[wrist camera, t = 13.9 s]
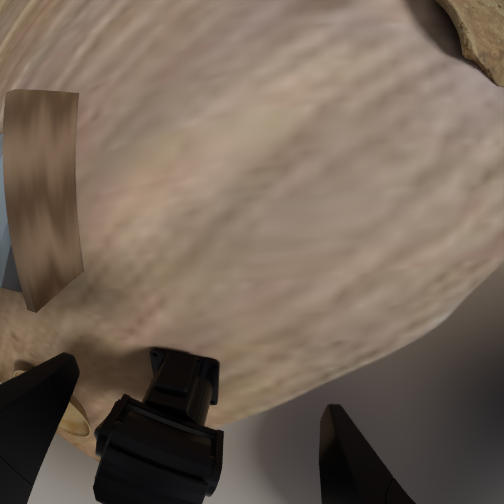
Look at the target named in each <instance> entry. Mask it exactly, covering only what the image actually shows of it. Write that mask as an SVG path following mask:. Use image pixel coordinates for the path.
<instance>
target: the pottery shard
mask: <svg viewBox="0 0 504 504" xmlns="http://www.w3.org/2000/svg"><path fill="white" fill-rule="evenodd" d="M435 1H436V2H437V3H438V4H439V5H440V6H441V7H442V8H443V9H444V10H445V11H446V12H447V13H448V15H449V16H450V18H451V20H452V22H453V24H454V25H455V27H456V30H457V33H458V35H459V38H460V43H461V49H462V55H463V56H464V57H465V58H466V59H469V60H472V61H474V62H475V63H476V64H477V65H478V66H480V67H481V69H482V70H483V71H484V72H485V73H486V74H487V76H488V77H489V78H490V79H492V81H493V82H494V83H495V84H496V85H498V86H502V87H504V0H435Z"/></svg>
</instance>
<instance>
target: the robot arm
mask: <svg viewBox="0 0 504 504" xmlns="http://www.w3.org/2000/svg"><path fill="white" fill-rule="evenodd" d="M155 353H156V354H155ZM150 357H151V363H152V369H153V375H154V377H153V379H152V381H151V383H150V385H149V388H148V390H147V392H146V394H145V396H144V399H143V401H142V402H140V401H137V400H135V399H133V398H131V396H129V395H127V394H124V395H123V397H122V398H121V400H120V399H119V400H118V401H116V402H115V404H114V406H113V408H112V410H111V412H110V413H109V415H108V416H107V417H106V418H105V419H104V421H103V422H102V423H101V424H100V425H99V426H98V427H97V428H96V429H95V432H94V435H95V437H96V440H97V442H96V455H97V456H99V457H101V460H100V463H99V466H98V469H97V473H96V476H95V482H94V485H93V490H94V494H95V498H96V501H98V502H100V503H102V504H202V503H203V500H204V497H205V496H208V497H210V496H211V495H212V494H213V492H214V491H215V489H216V487H217V484H218V481H219V478H220V474H221V470H222V459H223V438H224V431H221V430H215V429H211V428H208V427H205V426H204V425H205V421H206V417H207V413H208V409H209V405H216V404H217V402H218V389H219V368H220V363H219V362H218V361H217V360H214V359H208V358H203V357H197V356H192V355H186V354H181V353H176V352H171V351H167V350H162V349H157V348H153V349H152V350H151V352H150ZM212 364H214V365H212ZM79 373H80V371H79V368H78V365H77V362H76V359H75V357H74V356H73V355H72V354H69V353H66V352H64V353H61V354H59V355H57V356H55V357H53V358H51V359H50V360H48V361H46V362H44V363H42V364H40V365H38V366H36V367H34V368H32V369H30V370H28V371H26V372H24V373H22V374H20V375H18V376H16V377H14V378H12V379H10V380H8V381H6V382H4V383H2V384H0V504H27V502H28V499H29V496H30V493H31V491H32V488H33V485H34V482H35V480H36V477H37V475H38V472H39V470H40V467H41V465H42V462H43V460H44V457H45V455H46V453H47V450H48V448H49V446H50V443H51V441H52V439H53V437H54V435H55V432H56V430H57V428H58V426H59V424H60V422H61V420H62V418H63V415H64V413H65V411H66V409H67V407H68V404H69V402H70V399H71V396H72V393H73V391H74V388H75V385H76V383H77V380H78V378H79ZM319 445H320V446H319V470H320V484H321V499H322V504H416V503H415V502H414V501H413V500H412V499H411V498H410V497H409V496H408V494H407V493H406V492H405V491H404V489H403V488H402V487H401V486H400V484H399V483H398V482H397V480H396V479H395V478H393V475H392V474H391V473H390V471H389V470H388V469H387V467H386V466H385V464H384V463H383V462H382V460H381V459H380V458H379V456H378V455H377V454H376V452H375V451H374V450H373V448H372V447H371V446H370V444H369V443H368V441H367V440H366V439H365V437H364V436H363V435H362V433H361V432H360V430H359V429H358V428H357V426H356V425H355V424H354V422H353V421H352V420H351V418H350V417H349V415H348V414H347V413H346V411H345V410H344V408H343V407H342V406H341V405H340V404H328V405H327V407H326V409H325V411H324V413H323V415H322V417H321V421H320V444H319Z"/></svg>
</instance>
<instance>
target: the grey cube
mask: <svg viewBox="0 0 504 504" xmlns="http://www.w3.org/2000/svg"><path fill="white" fill-rule="evenodd" d="M2 155H3V136H2V135H1V134H0V159H1V157H2Z"/></svg>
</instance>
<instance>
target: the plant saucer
mask: <svg viewBox="0 0 504 504" xmlns="http://www.w3.org/2000/svg"><path fill="white" fill-rule="evenodd" d="M26 371H28V370H17V371H15V372H14V374H13V378H14V377H16V376H18V375H20V374H22V373H24V372H26ZM58 429H60V430H62V431H63V432H65V433H68V434H70V435H73V436H76V437H80V438H87V437H89V436H90V435H91V428H90V424H89V420H88V418H87V415H86V413H85V411H84V409H83V407H82V405H81V404H80V403H79V401H78V400H77V399H76V398H75V397H74V396H73V395H72V396H71V399H70V402H69V404H68V407H67V409H66V411H65V413H64V415H63V418H62V420H61V422H60V424H59V426H58Z"/></svg>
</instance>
